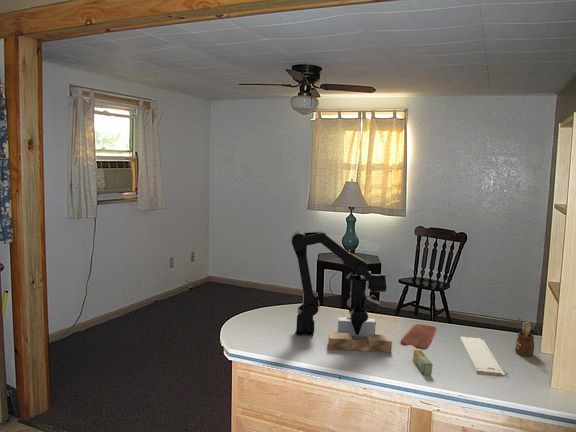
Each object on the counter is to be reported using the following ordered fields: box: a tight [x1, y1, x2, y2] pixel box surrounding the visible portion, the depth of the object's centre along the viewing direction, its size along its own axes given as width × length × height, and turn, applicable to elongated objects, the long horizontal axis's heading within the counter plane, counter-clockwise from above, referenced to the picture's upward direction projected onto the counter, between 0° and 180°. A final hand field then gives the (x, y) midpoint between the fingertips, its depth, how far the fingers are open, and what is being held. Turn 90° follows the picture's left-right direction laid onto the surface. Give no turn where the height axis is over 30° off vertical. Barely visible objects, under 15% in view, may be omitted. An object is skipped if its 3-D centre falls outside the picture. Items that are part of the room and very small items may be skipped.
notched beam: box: [327, 331, 393, 353], centre depth 169 cm, size 22×6×4 cm, turn 87°
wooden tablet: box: [399, 323, 437, 350], centre depth 183 cm, size 27×10×2 cm, turn 153°
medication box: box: [412, 349, 433, 377], centre depth 154 cm, size 12×3×4 cm, turn 2°
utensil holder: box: [514, 321, 535, 357], centre depth 168 cm, size 6×6×12 cm
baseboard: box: [459, 336, 508, 377], centre depth 165 cm, size 30×3×10 cm
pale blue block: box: [337, 316, 377, 337], centre depth 182 cm, size 14×4×6 cm, turn 87°
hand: (356, 330), depth 182 cm, fingers open, 9 cm apart
